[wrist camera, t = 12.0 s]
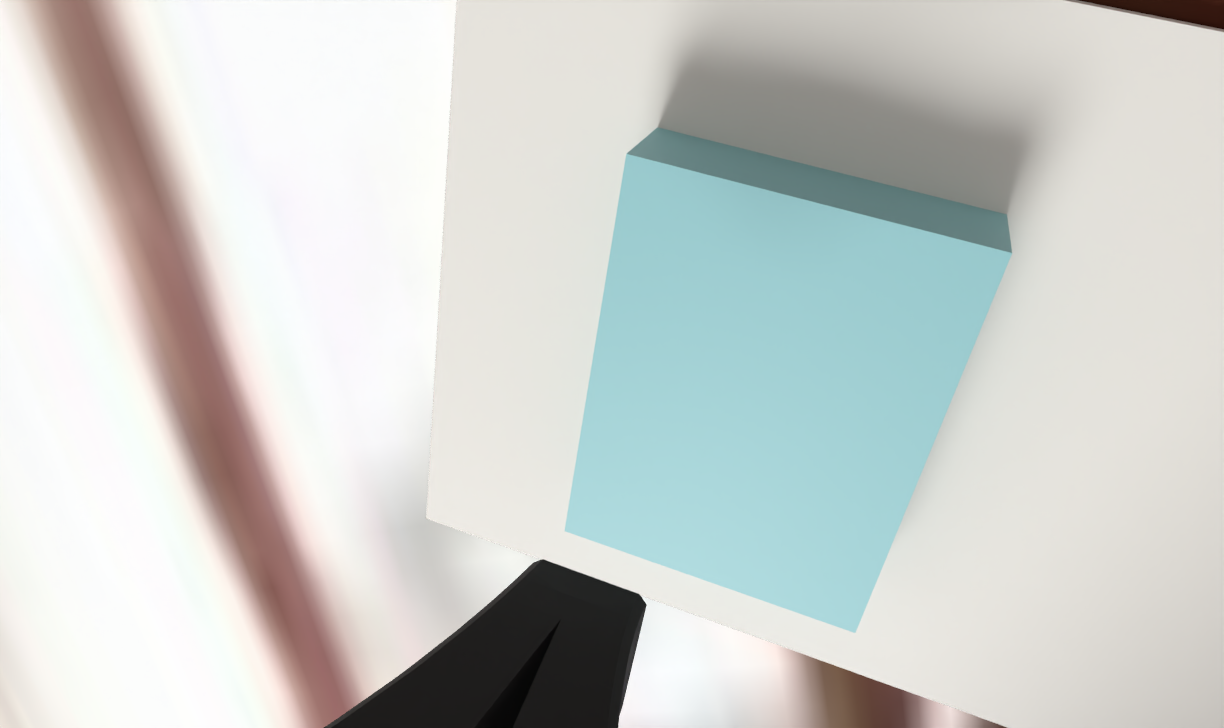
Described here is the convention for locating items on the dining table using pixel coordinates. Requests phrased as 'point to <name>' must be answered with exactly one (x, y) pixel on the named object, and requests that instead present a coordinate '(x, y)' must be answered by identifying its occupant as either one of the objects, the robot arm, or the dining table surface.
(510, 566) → the dining table surface
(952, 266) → the slab
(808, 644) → the mat
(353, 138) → the dining table surface
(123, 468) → the dining table surface
